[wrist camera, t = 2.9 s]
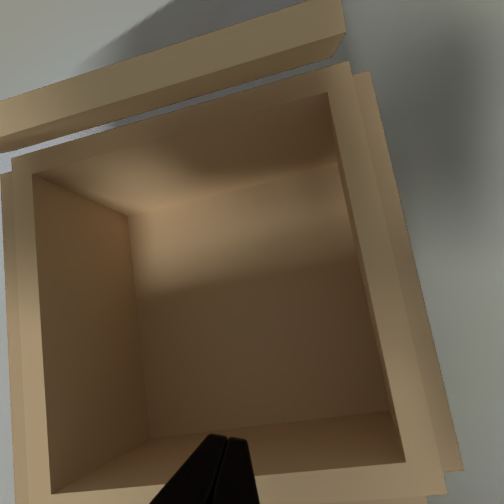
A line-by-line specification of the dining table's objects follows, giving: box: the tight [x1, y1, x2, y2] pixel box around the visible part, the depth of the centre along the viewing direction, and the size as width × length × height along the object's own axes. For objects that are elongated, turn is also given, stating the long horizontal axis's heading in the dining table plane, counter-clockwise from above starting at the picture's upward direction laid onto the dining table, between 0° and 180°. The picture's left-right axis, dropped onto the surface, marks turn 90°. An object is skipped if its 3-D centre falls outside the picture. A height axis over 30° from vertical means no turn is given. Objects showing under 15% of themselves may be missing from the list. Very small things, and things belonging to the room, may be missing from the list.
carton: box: [0, 60, 464, 504], centre depth 16 cm, size 12×13×7 cm
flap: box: [0, 0, 346, 153], centre depth 11 cm, size 6×11×1 cm
